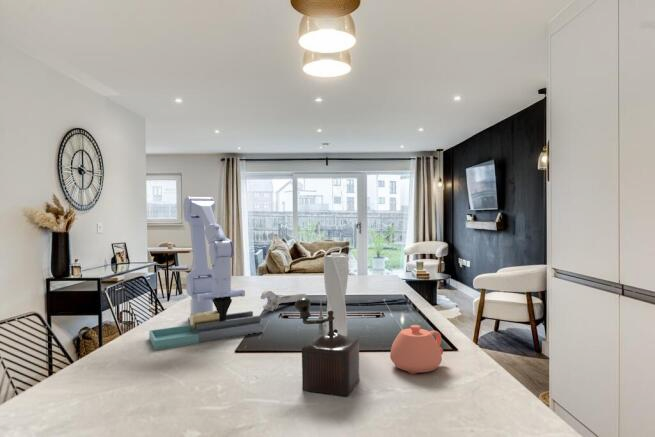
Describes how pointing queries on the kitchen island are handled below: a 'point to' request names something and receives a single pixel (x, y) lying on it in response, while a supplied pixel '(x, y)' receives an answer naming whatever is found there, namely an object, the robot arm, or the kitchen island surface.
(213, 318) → the wooden cube
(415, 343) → the sugar bowl
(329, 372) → the brown manual coffee grinder
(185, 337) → the tray
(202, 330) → the slot block
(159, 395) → the kitchen island surface
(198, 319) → the chip
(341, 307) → the skyscraper
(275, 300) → the wrench
